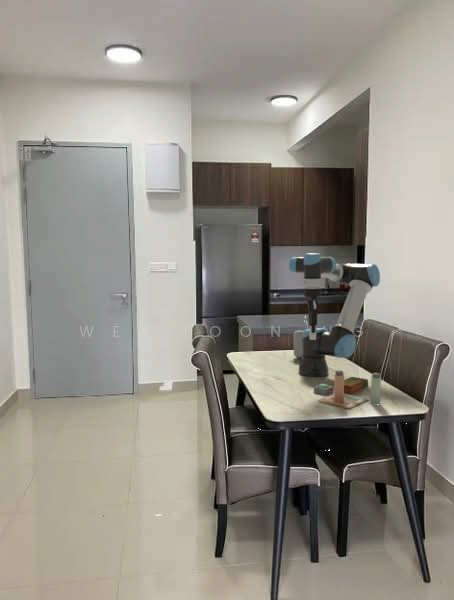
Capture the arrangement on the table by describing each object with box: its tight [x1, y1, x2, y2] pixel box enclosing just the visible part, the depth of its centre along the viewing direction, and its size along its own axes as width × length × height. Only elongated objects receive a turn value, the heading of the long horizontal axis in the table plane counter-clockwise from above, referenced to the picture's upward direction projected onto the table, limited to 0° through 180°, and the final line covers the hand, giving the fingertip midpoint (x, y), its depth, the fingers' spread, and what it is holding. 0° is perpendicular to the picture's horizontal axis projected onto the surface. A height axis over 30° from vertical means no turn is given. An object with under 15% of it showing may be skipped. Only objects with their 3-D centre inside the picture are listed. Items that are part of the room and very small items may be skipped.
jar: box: [292, 315, 310, 359], centre depth 270 cm, size 19×15×25 cm
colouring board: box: [318, 393, 370, 410], centre depth 190 cm, size 16×14×1 cm
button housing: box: [313, 384, 334, 396], centre depth 203 cm, size 6×6×2 cm
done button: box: [319, 383, 328, 389], centre depth 203 cm, size 3×3×2 cm
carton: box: [344, 376, 369, 395], centre depth 207 cm, size 8×16×4 cm, turn 138°
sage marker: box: [369, 372, 382, 406], centre depth 187 cm, size 4×4×12 cm
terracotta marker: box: [333, 370, 345, 403], centre depth 187 cm, size 4×4×12 cm
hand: (312, 339), depth 209 cm, fingers closed
